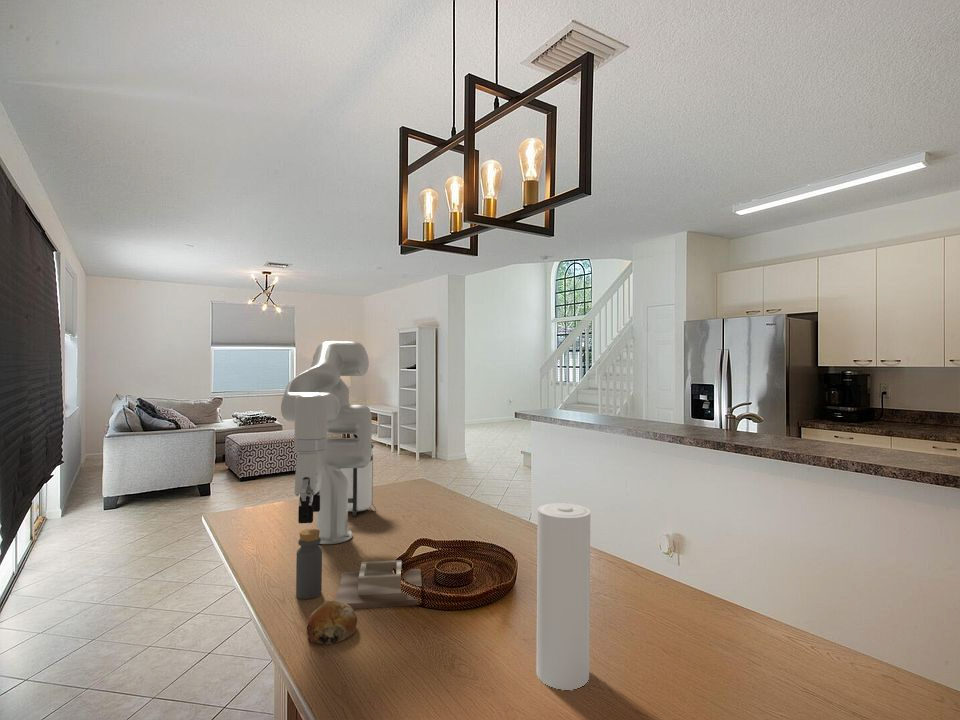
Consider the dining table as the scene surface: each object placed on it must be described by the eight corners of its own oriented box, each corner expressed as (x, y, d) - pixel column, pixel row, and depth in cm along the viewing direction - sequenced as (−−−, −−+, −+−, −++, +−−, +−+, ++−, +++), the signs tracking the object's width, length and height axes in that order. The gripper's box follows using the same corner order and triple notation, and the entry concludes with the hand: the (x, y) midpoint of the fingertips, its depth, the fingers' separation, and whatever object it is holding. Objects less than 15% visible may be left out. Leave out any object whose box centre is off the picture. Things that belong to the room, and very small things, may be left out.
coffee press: (335, 506, 199) (336, 429, 199) (377, 505, 201) (378, 429, 201) (327, 520, 182) (328, 435, 182) (373, 519, 184) (374, 435, 184)
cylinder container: (532, 660, 97) (533, 500, 97) (580, 658, 97) (582, 500, 98) (542, 691, 87) (543, 515, 88) (596, 689, 88) (597, 514, 88)
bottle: (313, 600, 120) (314, 536, 120) (291, 598, 121) (291, 534, 121) (326, 589, 126) (326, 528, 126) (304, 587, 127) (305, 526, 127)
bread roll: (361, 647, 107) (370, 605, 110) (335, 649, 98) (345, 603, 102) (321, 638, 110) (331, 597, 114) (292, 639, 102) (304, 595, 105)
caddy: (343, 576, 133) (343, 556, 133) (420, 573, 136) (420, 553, 136) (333, 609, 116) (334, 586, 116) (422, 604, 118) (423, 581, 119)
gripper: (301, 441, 132) (300, 508, 131) (286, 451, 115) (285, 528, 114) (331, 440, 133) (330, 507, 132) (321, 450, 116) (319, 527, 115)
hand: (309, 517), depth 123 cm, fingers open, 9 cm apart
